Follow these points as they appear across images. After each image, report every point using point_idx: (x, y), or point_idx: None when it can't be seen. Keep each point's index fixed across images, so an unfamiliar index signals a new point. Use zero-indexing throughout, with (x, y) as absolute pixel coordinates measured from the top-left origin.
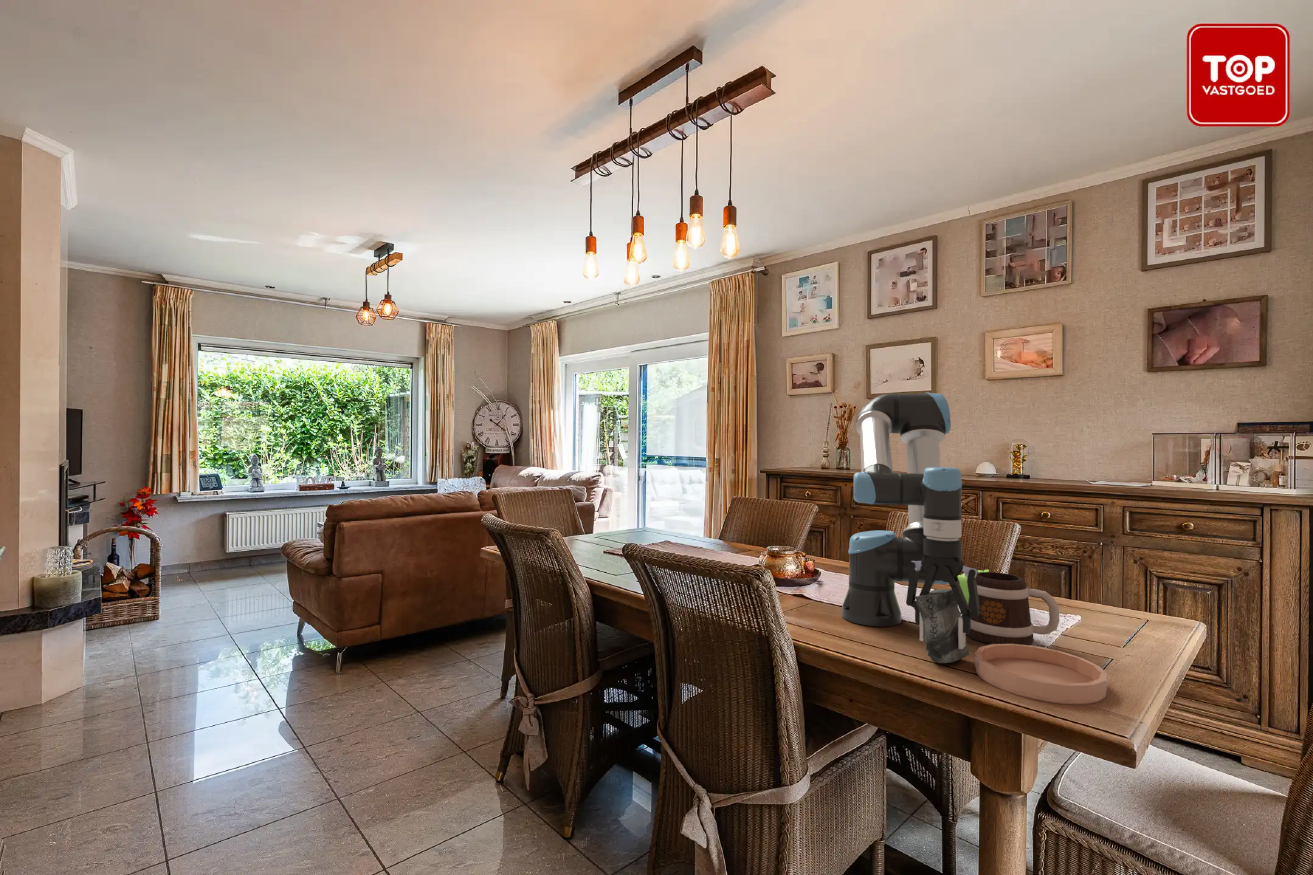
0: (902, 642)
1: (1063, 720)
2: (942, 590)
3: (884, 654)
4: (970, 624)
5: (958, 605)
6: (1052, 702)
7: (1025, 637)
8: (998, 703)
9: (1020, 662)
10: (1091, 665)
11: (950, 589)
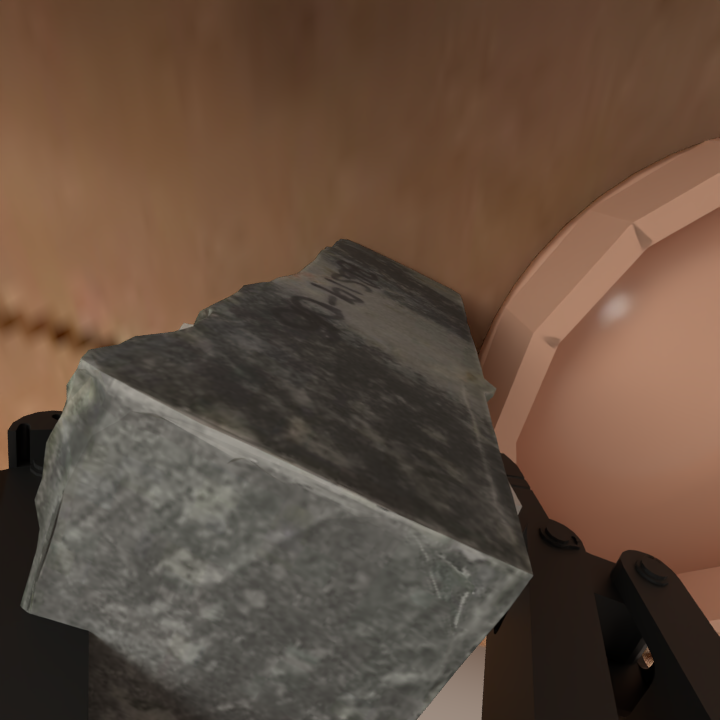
0: (30, 106)
1: (646, 663)
2: (297, 557)
3: (20, 400)
4: (530, 497)
5: (485, 702)
6: None
7: None
8: None
9: (714, 244)
10: None
11: (453, 587)
